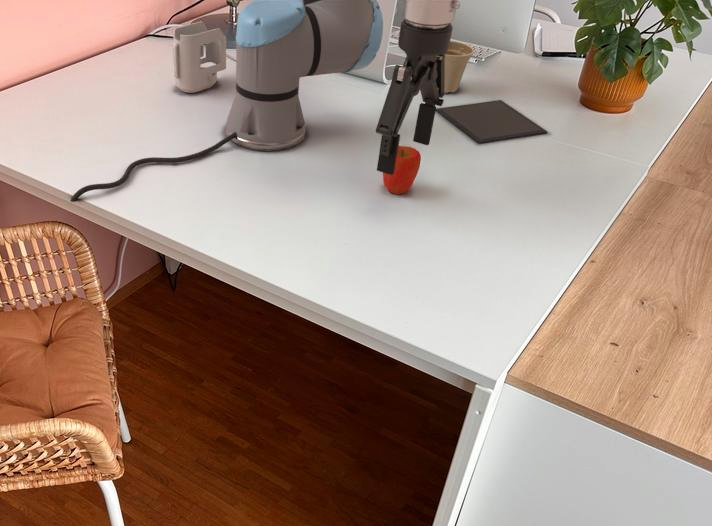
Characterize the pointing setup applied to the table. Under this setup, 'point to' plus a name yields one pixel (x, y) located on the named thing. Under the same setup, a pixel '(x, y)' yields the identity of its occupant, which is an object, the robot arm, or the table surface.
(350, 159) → the table surface
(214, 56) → the grey boxy plastic piece
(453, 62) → the flower pot
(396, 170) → the red bell pepper
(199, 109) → the table surface
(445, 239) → the table surface
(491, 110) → the place mat
